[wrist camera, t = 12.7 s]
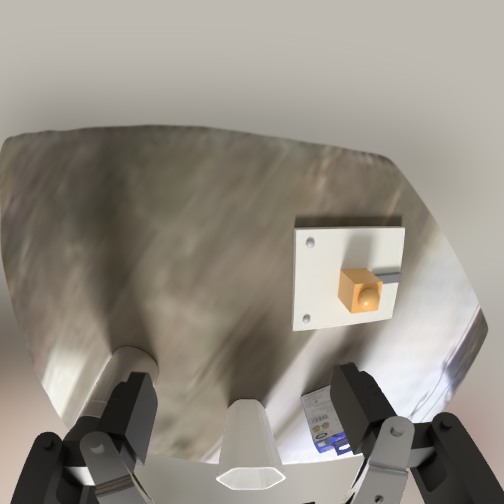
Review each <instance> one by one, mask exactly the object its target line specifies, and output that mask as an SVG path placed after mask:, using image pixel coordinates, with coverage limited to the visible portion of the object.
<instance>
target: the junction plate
mask: <svg viewBox="0 0 504 504" xmlns="http://www.w3.org/2000/svg"><path fill="white" fill-rule="evenodd" d="M404 234H405V228H404V227H401V226H351V227H304V228H294V258H293V296H292V322H291V327H292V330H293V331H300V330H311V329H320V328H329V327H337V326H345V325H352V324H359V323H366V322H372V321H379V320H385V319H391V318H392V314H393V309H394V304H395V298H396V293H397V287H398V282H401V278H402V274H401V273H400V268H401V261H402V253H403V244H404ZM363 268H366V269H368V270H369V271H370V272H371V273H373V274H374V275H375V276H376V277H378V278H379V279H380V280H382V281H383V284H382V291H381V297H380V302H379V308H378V310H376V311H369V312H361V313H353V314H351V313H350V312H349V311H348V310H347V308H346V307H345V306H344V304H343V303H342V302H341V301H340V299H339V298H338V288H339V278H340V270H348V269H363Z"/></svg>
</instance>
